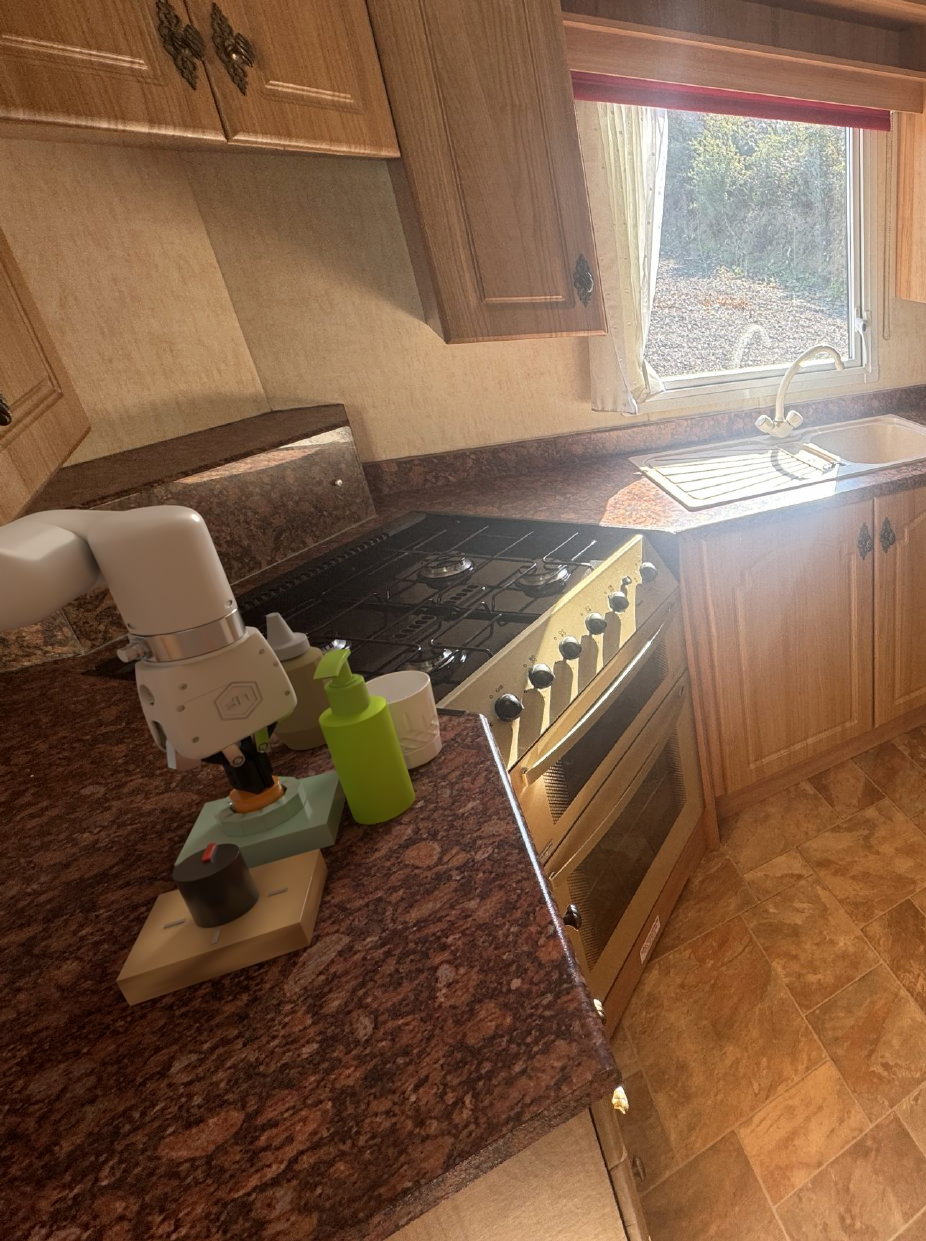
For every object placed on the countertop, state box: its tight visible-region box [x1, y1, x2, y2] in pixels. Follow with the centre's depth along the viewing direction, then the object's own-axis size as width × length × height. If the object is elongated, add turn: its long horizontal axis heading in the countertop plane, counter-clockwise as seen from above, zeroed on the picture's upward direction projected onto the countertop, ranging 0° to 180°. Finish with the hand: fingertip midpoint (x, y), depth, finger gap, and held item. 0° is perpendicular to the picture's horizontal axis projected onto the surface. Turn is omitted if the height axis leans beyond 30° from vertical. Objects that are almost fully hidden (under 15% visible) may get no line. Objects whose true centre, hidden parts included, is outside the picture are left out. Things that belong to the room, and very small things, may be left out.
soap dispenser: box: [313, 647, 416, 825], centre depth 78 cm, size 6×7×20 cm
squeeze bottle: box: [265, 612, 332, 751], centre depth 91 cm, size 8×8×18 cm
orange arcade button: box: [228, 774, 285, 813], centre depth 76 cm, size 4×4×2 cm
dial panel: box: [115, 849, 329, 1007], centre depth 67 cm, size 12×10×3 cm
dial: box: [171, 843, 259, 928], centre depth 65 cm, size 4×4×6 cm
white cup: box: [365, 670, 443, 770], centre depth 89 cm, size 8×8×10 cm
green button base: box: [173, 769, 346, 869], centre depth 77 cm, size 12×10×5 cm
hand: (256, 786), depth 76 cm, fingers closed
